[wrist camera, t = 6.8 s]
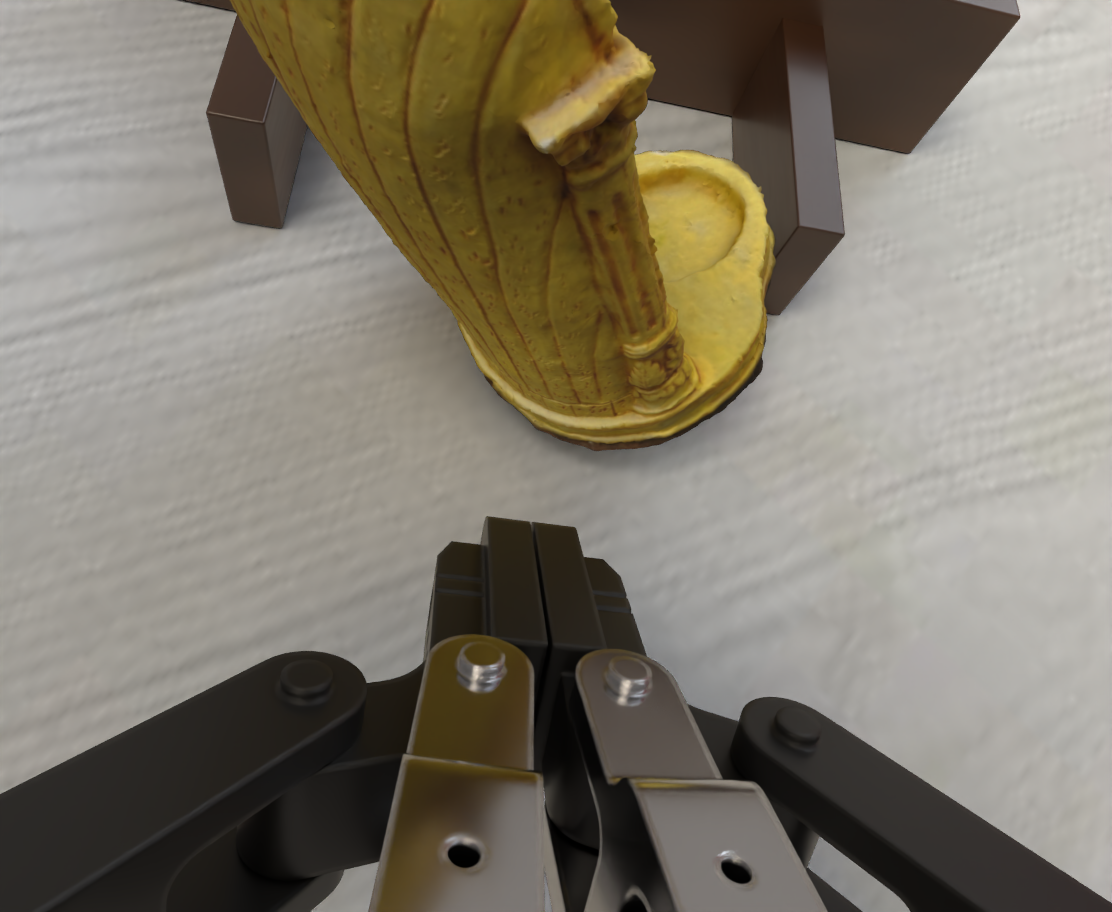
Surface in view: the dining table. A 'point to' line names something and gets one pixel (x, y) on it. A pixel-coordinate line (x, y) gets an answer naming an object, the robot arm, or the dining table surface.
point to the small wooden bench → (706, 99)
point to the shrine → (539, 202)
